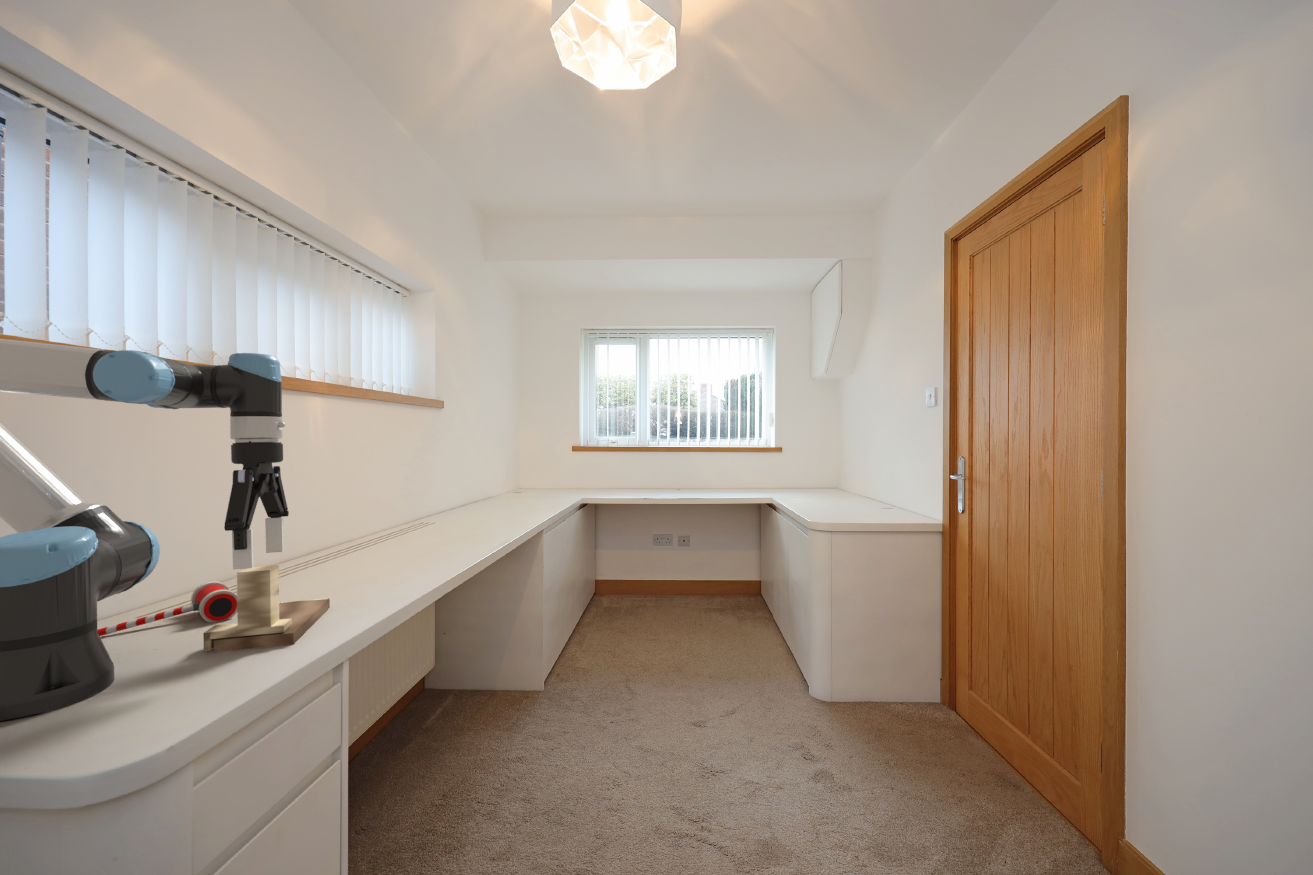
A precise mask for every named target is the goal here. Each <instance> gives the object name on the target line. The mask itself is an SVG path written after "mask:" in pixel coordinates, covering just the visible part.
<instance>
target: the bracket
mask: <svg viewBox="0 0 1313 875" xmlns="http://www.w3.org/2000/svg"><path fill="white" fill-rule="evenodd" d="M279 567H280V565H278V564H275V565H272V564H271V565H261V566H260V565H259V566H257V565H256V566H254V567H253V568H248V569H240V570H239V571H237V572H236V595H237V613H236V615H237V617H236V619H237V623H234V622H233V623H225V624H223V623H222V624H215V625H213V626H212V627H210V628H209V629H207V630H206V631H204V632H203V652H206V651H211V650H214V640H215V639H218V638H228V637H239V636H250V635H260V634H271V633H281V632H285V631H286V630H287V629H288V628H289V627H290V626H291V625H292V618H291V619H279V602H280V568H279Z"/></svg>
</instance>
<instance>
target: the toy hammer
mask: <svg viewBox="0 0 1313 875" xmlns="http://www.w3.org/2000/svg"><path fill="white" fill-rule="evenodd" d="M190 602H191V604H189V605H184V606H181V607H176V608H173V609H170V610H166V611H163V612H158V613H153V614H151V615H147V616H143V617H140V618H136V619H132V620H128V621H124V622H121V623H117V624H113V625H109V626H106V627H102V628H97V631H98V634H99V636H100V637H102V636H106V635H109V634H113V633H116V632H120V631H124V630H126V629H127V630H128V629H131V628H135V627H139V626H142V625H145V624H151V623H153V622H157V621H160V620H164V619H168V618H172V617H175V616H178V615H183V614H187V613H191V612H195V611H196V612H199V615H200V617H202V619H204V621H206V622H208V623H210V622H213V623H218V622H221V620H223V621H227V620H226V619H228V620H230V618H231V619H232V618H233V617H234V616H235V615H237V593H236V594H235V593H234V592H233V591H232V590H230V589H229V587H228V586H226V585H225V584H224V583H222V582H220V581H215V580H214V581H207V582H203V583H202V584H200V585H198V586H197V587H196V588H195V589H194V591H193V592H192V594H191V598H190ZM217 621H218V622H217Z"/></svg>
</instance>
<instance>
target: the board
mask: <svg viewBox="0 0 1313 875" xmlns="http://www.w3.org/2000/svg"><path fill="white" fill-rule="evenodd" d="M330 600H331V599H330V598H318V599H317V598H315V599H301V600H289V601H281V602H280V601H279V619H291V618H292V625H291V626H290V627H289V628H288V629H287V630H286V631H285V632H281V633H271V634H260V635H250V636H239V637H228V638H218V639H215V640H214V648H213V653H218V652H230V651H238V650H239V651H240V650H248V649H259V648H260V649H261V648H268V647H269V648H270V647H280V646H290V645H294V644H296V642H298V640H300V638H301V637H302V636H304V634H305V633H306V632H308V630H309V629H310V628H312V627H313V625H314V624H315V623H316V622H317V621H318V620H319V619H320V618H321V617H323V615H324V614H326V612H327V611H328V610H329V609H330V608H331V603H330V602H331V601H330Z"/></svg>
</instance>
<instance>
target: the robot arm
mask: <svg viewBox="0 0 1313 875" xmlns="http://www.w3.org/2000/svg"><path fill="white" fill-rule="evenodd" d="M280 363H281V362H280V360H279V359H278V358H277V357H276V356H273V355H270V354H265V353H256V352H255V353H253V352H235V353H232V354H230V355H229V357H228V361H227V364H221V365H219V364H218V365H216V364H215V365H211V364H189V363H185V362H181V361H177V360H173V359H168V358H164V357H160V356H158V355H154V354H152V353H150V352H147V351H139V350H132V349H131V350H128V349H123V350H121V349H120V350H107V349H103V348H94V347H93V348H92V347H83V346H75V345H74V346H72V345H65V344H64V345H63V344H55V343H54V344H53V343H45V342H37V341H36V342H34V341H29V340H19V339H18V340H17V339H9V338H0V392H2V393H13V394H26V395H38V396H48V397H63V398H74V399H86V400H98V401H99V400H100V401H105V402H106V401H108V402H118V403H125V404H138V405H147V406H149V407H151V408H156V409H166V410H167V409H170V410H177V409H210V408H216V409H217V408H220V409H228V408H229V409H230V410H229V411H230V412H229V413H230V415H229V416H230V418H229V426H230V427H229V429H230V431H229V432H230V435H229V436H230V439H231V440H234V442H233V443H232V444H231V445H230V448H231V449H230V454H231V457H230V458H231V460H230V461H231V463H232V464H235V465H236V464H237V465H242V469H234V470H233V472H232V485H231V489H230V496H229V501H228V504H227V505H228V506H227V510H226V515H225V519H224V520H225V521H224V526H223V527H224V530H225V531H226V532H230V531H231V539H232V541H231V542H232V570H234V571H235V570H242V569H248V568H253V567H255V561H254V560H255V558H254V554H255V553H254V551H255V550H254V528H251V525H252V523H253V522H252V521H253V518H254V514H255V513H256V512H255V511H256V508H257V506H258V501H259V498H260V501H261V503H262V506H263V508H264V511H265V513H266V515H267V518H265V525H264V526H265V553H266V554H271V553H283V552H284V551H285V544H284V543H285V541H284V539H285V538H284V537H285V536H284V517H288V516H290V512H289V509H288V502H287V500H286V499H287V498H286V495H285V490H284V486H283V481H282V476H281V475H282V474H281V467H280V465H277V466H276V465H273V463H274V464H275V463H281V462H283V460H284V443H282V442H281V441H280V442H279V439H280V440H281V439H282V438H283V428H285V427H286V423H285V422H284V421H283V412H282V410H283V408H282V405H283V404H282V403H283V402H282V399H283V398H282V397H283V396H282V394H283V393H282V392H283V391H282V390H283V389H282V388H283V386H282V384H283V379H282V373H281V364H280ZM0 519H1V520H2V521H4V522H5V523H6V524H7V525H8V526H9V527H11V529H13V530H14V531H15V532H16V533H11V534H8V535H4V536H0V722H1V721H7V720H13V719H18V718H23V717H28V716H33V715H36V714H41V713H45V712H48V711H51V710H55V709H59V708H63V707H65V706H69V705H72V704H75V703H76V702H77V703H78V702H79V701H82V700H84V699H87V698H89V697H92V696H93V695H96V694H99V693H101V692H102V691H103V690H104V691H105V690H106V689H107V688H109V687H110V686H111V685H112V684H113V683H114V681H115V665H114V661H112V658H111V656H110V655H109V652H108V650H107V648H106V646H105V644H104V642H103V640H102V638H101V636H99V634H98V631H97V629H98V602H100V601H102V600H105V599H107V598H110V597H111V596H115V595H118V594H121V593H123V592H126V591H129V590H130V589H132V588H133V587H134V586H136V585H138V584H139V583H141V582H142V581H144V580H145V579H146V578H148V577H149V576H150V575H151V574H152V572H153V571H154V570H155V569H156V567H157V565H158V562H159V559H160V553H161V547H160V543H159V540H158V538H157V536H156V535H155V533H154V532H153V531H152V530H151V529H149V528H148V527H147V526H145V525H143V524H140V523H138V522H133V521H128V520H122V519H121V518H120V517H119V516H118V515H117V514H116V513H115V512H114V511H112V510H111V508H110V507H108V506H107V505H106V504H104V503H92V502H91V503H89V502H86V501H85V500H84V499H83V498H82V497H81V495H79V494H78V493H76V491H75V490H73V489H72V488H71V487H70V486H69V485H68V484H67V483H66V482H65V481H64V480H63V479H62V478H60V476H58V474H56V473H55V472H54V471H53V470H52V469H51V468H50V467H49V466H47V464H46V463H44V462H43V460H41V458H39V457H38V455H36V454H35V453H34V452H33V451H32V450H30V449H29V448H28V447H27V446H26V444H24V443H23V442H22V441H21V440H19V438H18V437H16V435H14V434H13V433H12V432H11V431H10V429H8V428H7V427H5V425H4V424H2V422H0Z"/></svg>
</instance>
